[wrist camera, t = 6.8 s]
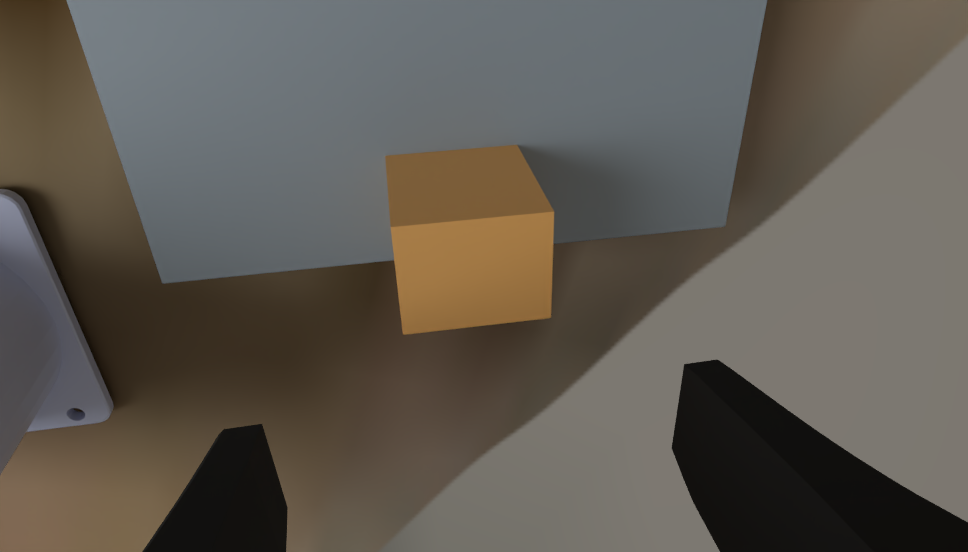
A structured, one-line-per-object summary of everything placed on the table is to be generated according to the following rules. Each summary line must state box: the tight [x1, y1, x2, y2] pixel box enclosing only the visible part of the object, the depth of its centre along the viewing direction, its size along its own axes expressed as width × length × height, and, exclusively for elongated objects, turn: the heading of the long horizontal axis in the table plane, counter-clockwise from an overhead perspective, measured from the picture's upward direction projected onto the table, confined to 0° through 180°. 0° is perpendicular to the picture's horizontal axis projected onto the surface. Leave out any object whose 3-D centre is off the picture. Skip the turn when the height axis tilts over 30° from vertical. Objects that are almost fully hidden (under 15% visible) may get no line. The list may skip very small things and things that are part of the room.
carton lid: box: [67, 0, 767, 335], centre depth 12 cm, size 14×12×4 cm
